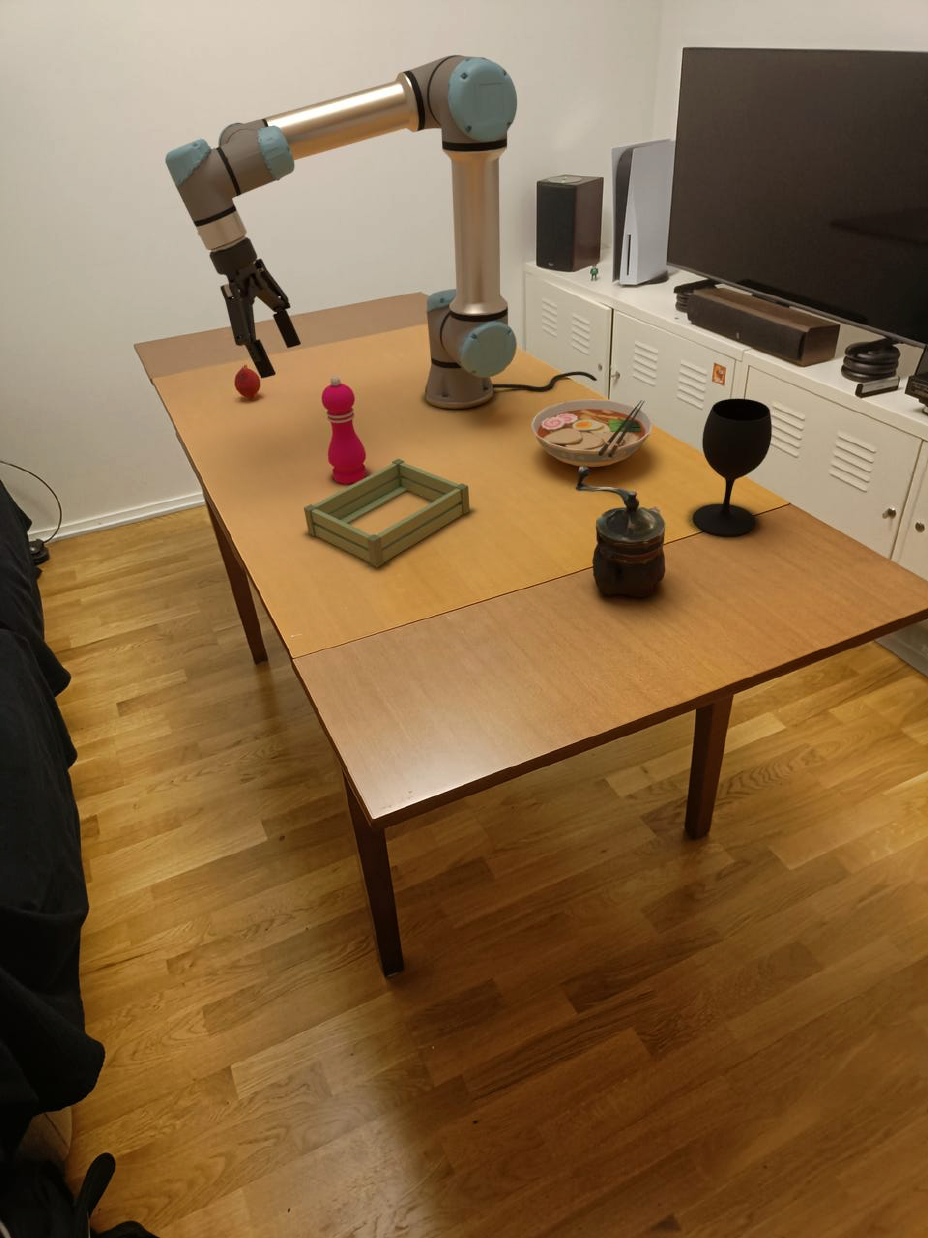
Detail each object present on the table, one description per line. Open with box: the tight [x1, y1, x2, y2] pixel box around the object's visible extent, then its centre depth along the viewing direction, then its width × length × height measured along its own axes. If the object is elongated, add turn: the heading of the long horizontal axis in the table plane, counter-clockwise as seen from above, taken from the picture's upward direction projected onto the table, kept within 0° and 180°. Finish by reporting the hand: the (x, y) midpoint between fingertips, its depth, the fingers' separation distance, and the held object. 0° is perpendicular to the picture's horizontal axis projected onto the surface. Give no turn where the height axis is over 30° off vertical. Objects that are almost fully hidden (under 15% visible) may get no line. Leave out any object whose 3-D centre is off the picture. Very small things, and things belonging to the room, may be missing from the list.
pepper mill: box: [321, 375, 367, 485], centre depth 157 cm, size 7×7×20 cm
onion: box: [233, 363, 261, 400], centre depth 195 cm, size 6×6×8 cm
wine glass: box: [692, 398, 773, 538], centre depth 137 cm, size 10×10×20 cm
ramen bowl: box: [530, 398, 653, 468], centre depth 161 cm, size 25×23×8 cm
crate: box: [303, 458, 471, 569], centre depth 147 cm, size 23×18×5 cm
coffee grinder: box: [574, 466, 666, 599], centre depth 125 cm, size 13×15×18 cm
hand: (282, 360), depth 156 cm, fingers open, 13 cm apart
